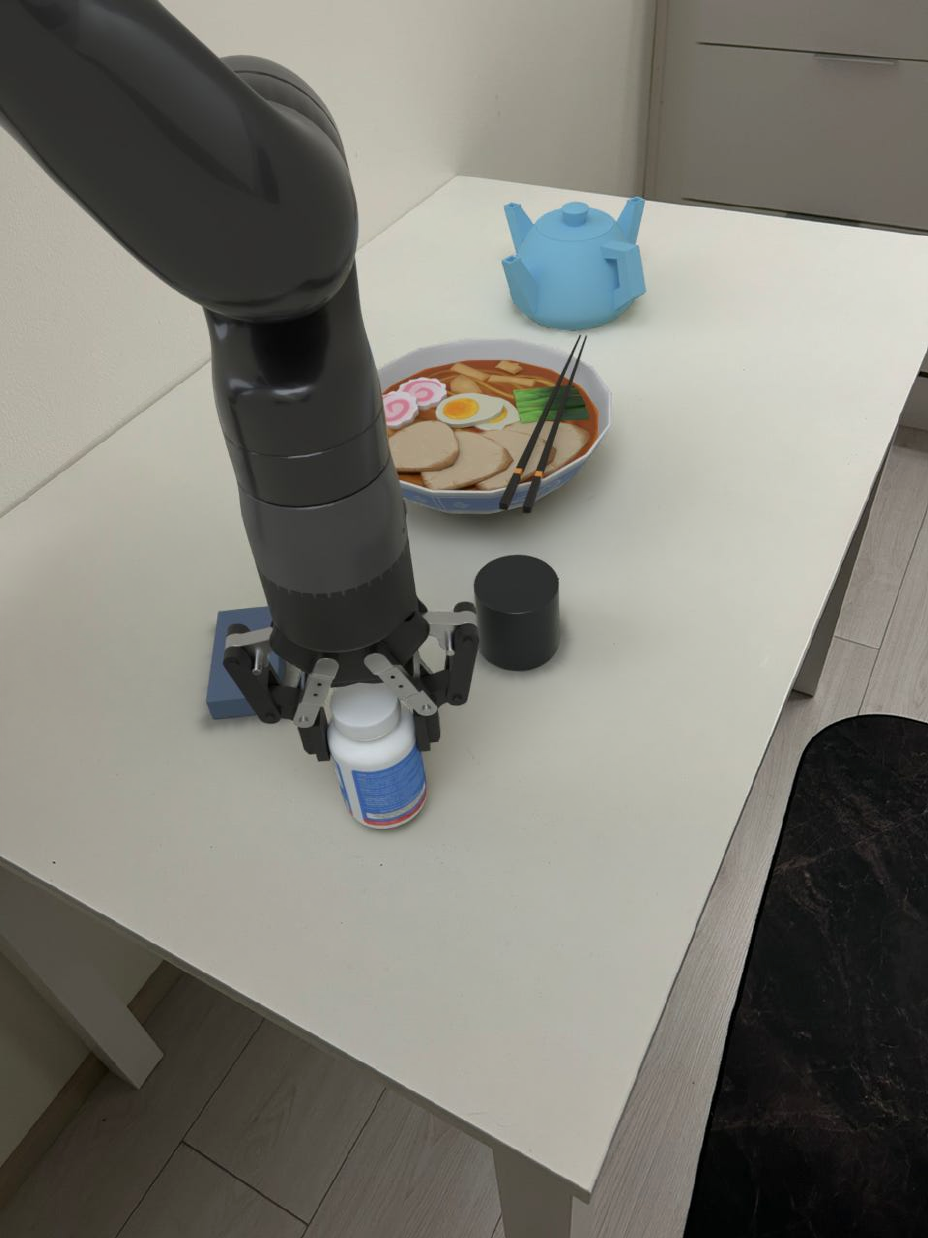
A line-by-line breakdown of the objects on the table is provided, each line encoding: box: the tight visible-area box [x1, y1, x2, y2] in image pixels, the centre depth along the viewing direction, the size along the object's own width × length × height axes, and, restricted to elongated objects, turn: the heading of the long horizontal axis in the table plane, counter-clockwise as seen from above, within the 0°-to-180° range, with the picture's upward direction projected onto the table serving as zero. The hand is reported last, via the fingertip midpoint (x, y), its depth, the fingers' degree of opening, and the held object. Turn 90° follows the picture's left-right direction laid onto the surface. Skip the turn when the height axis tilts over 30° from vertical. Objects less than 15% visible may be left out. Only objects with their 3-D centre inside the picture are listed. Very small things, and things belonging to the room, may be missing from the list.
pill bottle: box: [327, 683, 428, 830], centre depth 59 cm, size 6×5×10 cm
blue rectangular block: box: [205, 605, 286, 720], centre depth 72 cm, size 9×5×2 cm, turn 5°
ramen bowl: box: [376, 334, 613, 515], centre depth 84 cm, size 25×23×8 cm
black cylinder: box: [473, 554, 560, 672], centre depth 70 cm, size 6×6×6 cm
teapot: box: [501, 196, 647, 331], centre depth 103 cm, size 15×15×11 cm
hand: (375, 744), depth 59 cm, fingers closed on pill bottle, 5 cm apart
